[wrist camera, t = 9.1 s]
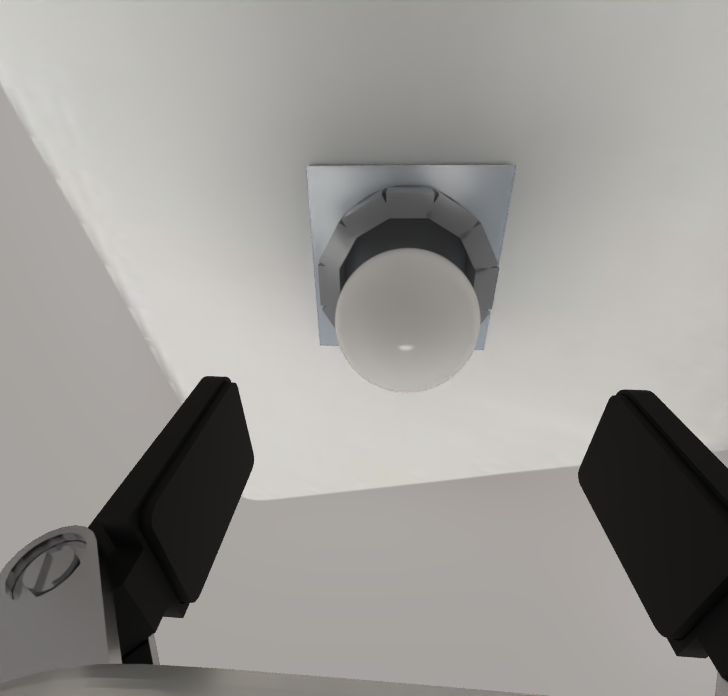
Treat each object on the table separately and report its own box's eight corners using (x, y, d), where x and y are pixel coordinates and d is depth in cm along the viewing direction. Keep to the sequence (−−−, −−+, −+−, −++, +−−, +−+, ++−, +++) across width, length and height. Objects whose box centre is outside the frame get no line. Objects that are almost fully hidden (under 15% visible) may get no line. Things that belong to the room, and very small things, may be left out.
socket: (309, 165, 22) (289, 170, 18) (511, 164, 21) (539, 168, 17) (322, 339, 28) (309, 373, 24) (480, 343, 27) (496, 379, 23)
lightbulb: (357, 316, 25) (330, 421, 15) (352, 219, 22) (313, 275, 12) (452, 315, 24) (485, 425, 15) (459, 215, 21) (507, 271, 12)
